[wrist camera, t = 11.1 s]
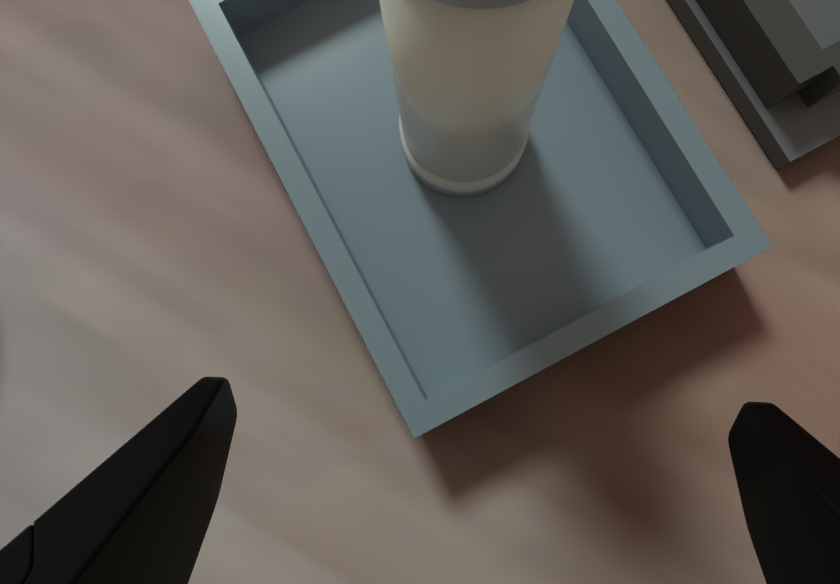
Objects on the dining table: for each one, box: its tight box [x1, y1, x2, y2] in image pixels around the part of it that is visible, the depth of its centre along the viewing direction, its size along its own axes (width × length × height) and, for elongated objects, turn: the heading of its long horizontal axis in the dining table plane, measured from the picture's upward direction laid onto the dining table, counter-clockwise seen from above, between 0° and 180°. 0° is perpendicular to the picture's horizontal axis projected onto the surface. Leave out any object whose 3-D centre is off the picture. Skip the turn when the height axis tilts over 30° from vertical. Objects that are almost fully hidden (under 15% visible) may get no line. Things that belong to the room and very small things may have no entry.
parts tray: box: [189, 0, 772, 439], centre depth 19 cm, size 16×12×2 cm
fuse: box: [379, 0, 574, 198], centre depth 14 cm, size 4×4×12 cm
